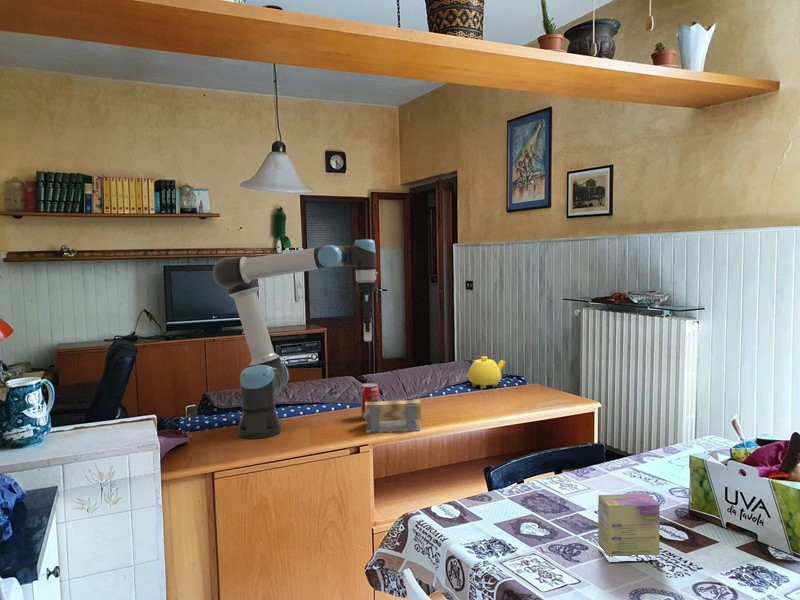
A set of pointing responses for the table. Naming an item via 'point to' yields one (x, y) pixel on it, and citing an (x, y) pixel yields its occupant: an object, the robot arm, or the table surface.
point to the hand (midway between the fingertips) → (368, 338)
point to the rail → (393, 410)
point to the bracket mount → (395, 425)
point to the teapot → (485, 372)
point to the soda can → (368, 395)
